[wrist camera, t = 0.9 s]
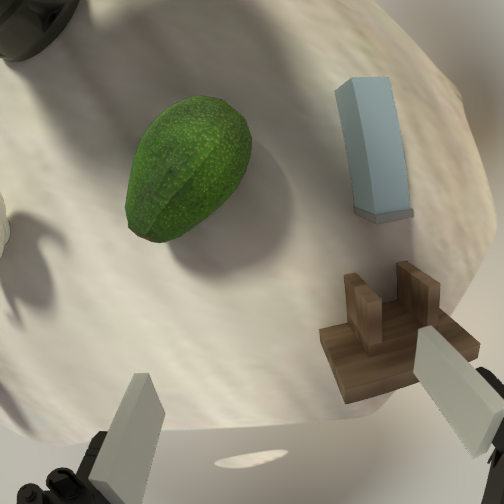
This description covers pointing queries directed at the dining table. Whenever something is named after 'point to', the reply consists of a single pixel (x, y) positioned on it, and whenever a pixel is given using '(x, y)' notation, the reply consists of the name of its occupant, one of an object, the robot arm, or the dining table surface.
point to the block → (374, 149)
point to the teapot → (3, 226)
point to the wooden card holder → (387, 334)
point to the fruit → (186, 167)
